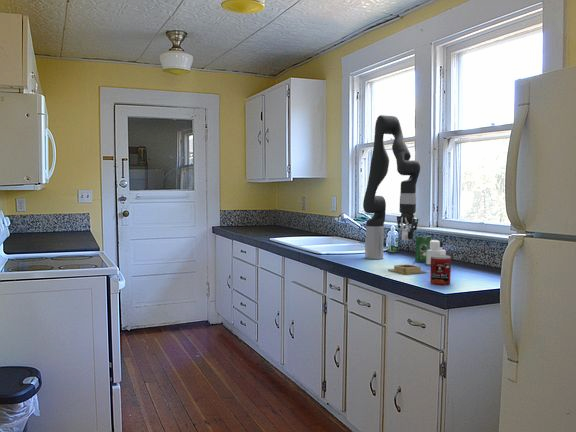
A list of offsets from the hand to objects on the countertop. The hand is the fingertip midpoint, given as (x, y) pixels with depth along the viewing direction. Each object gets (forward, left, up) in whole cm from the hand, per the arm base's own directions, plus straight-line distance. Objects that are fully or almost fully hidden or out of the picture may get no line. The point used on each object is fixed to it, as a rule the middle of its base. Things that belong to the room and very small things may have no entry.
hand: (406, 238), depth 250 cm
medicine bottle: (-2, +19, -14) cm, 24 cm away
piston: (0, 0, -1) cm, 1 cm away
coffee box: (-12, +19, -14) cm, 26 cm away
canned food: (+39, -13, -14) cm, 44 cm away
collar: (+11, -8, -14) cm, 19 cm away
